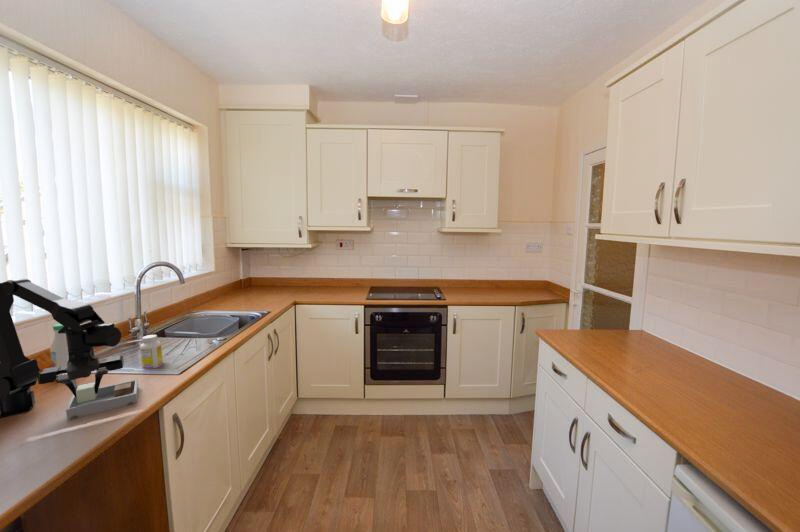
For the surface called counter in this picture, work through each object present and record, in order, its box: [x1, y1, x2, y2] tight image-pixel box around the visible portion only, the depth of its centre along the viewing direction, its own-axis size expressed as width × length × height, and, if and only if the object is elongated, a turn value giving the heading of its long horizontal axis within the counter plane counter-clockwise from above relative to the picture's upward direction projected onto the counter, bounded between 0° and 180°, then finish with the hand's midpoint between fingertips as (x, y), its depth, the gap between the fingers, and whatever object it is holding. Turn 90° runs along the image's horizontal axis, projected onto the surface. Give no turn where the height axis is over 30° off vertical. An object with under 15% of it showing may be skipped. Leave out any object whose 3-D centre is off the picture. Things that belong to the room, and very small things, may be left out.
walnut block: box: [114, 382, 132, 398], centre depth 111 cm, size 4×4×4 cm
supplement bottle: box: [139, 334, 164, 370], centre depth 136 cm, size 7×7×13 cm
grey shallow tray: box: [65, 379, 139, 421], centre depth 108 cm, size 16×13×4 cm
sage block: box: [76, 381, 97, 403], centre depth 105 cm, size 4×4×4 cm
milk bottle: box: [49, 323, 69, 380], centre depth 128 cm, size 8×8×20 cm
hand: (87, 395), depth 105 cm, fingers closed on sage block, 4 cm apart
